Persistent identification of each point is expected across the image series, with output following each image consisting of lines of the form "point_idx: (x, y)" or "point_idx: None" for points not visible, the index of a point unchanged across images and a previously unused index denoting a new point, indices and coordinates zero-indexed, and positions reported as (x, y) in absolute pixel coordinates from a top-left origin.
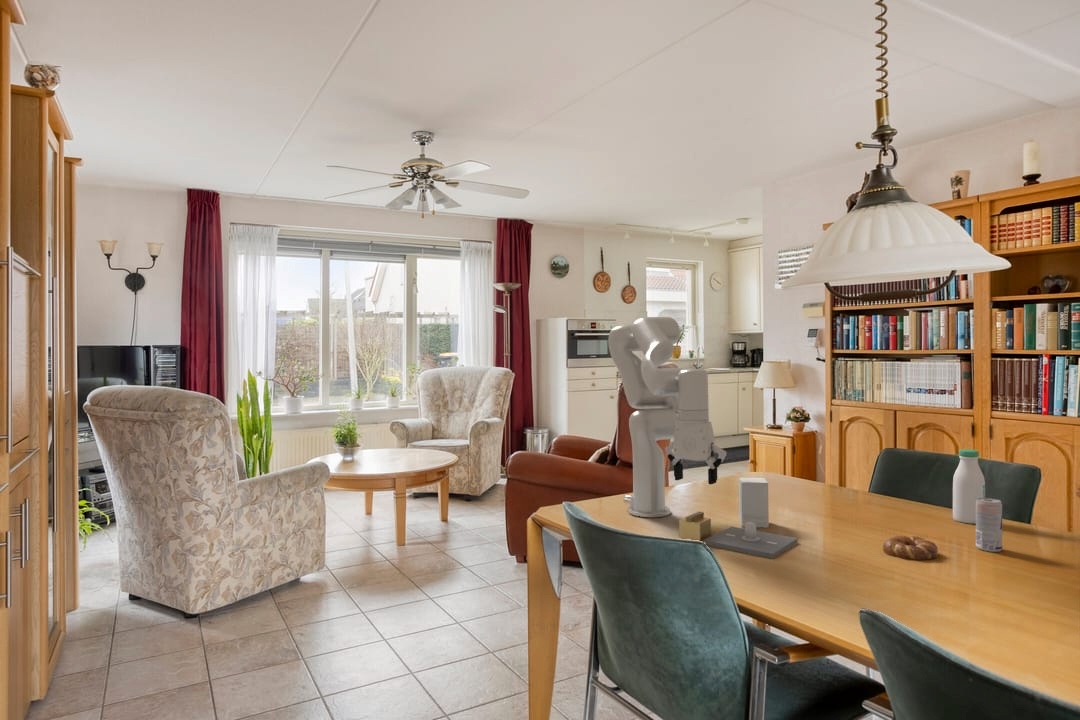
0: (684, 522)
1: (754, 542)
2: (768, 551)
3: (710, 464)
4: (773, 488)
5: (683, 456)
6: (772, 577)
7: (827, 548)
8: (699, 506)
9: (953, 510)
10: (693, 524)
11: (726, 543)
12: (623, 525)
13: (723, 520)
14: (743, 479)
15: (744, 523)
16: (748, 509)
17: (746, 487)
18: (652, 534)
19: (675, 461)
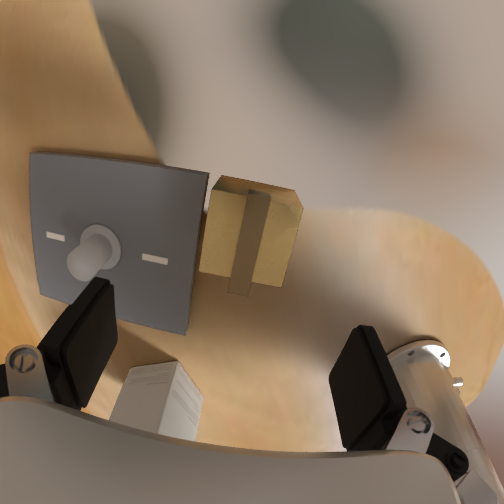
0: (279, 201)
1: (83, 222)
2: (40, 165)
3: (27, 379)
4: None
5: (335, 483)
6: (24, 41)
7: (6, 274)
8: (308, 438)
9: None
10: (240, 192)
11: (136, 175)
12: (458, 262)
13: (234, 388)
14: None
15: (171, 366)
16: (154, 393)
17: None
18: (382, 213)
19: (408, 434)
